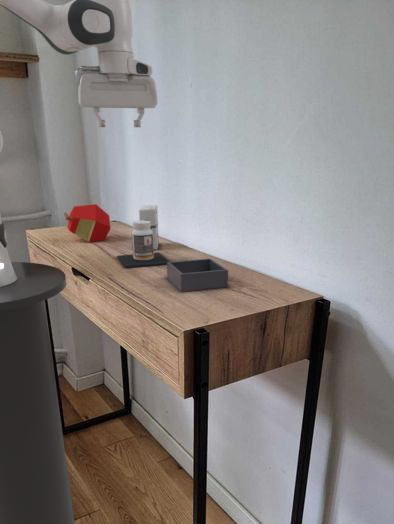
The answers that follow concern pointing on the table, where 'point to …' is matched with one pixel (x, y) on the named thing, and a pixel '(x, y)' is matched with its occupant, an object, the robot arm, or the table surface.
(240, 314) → the table surface
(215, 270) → the open box
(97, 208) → the apple
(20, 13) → the robot arm
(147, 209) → the ink box
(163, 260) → the mat
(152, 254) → the pill bottle
